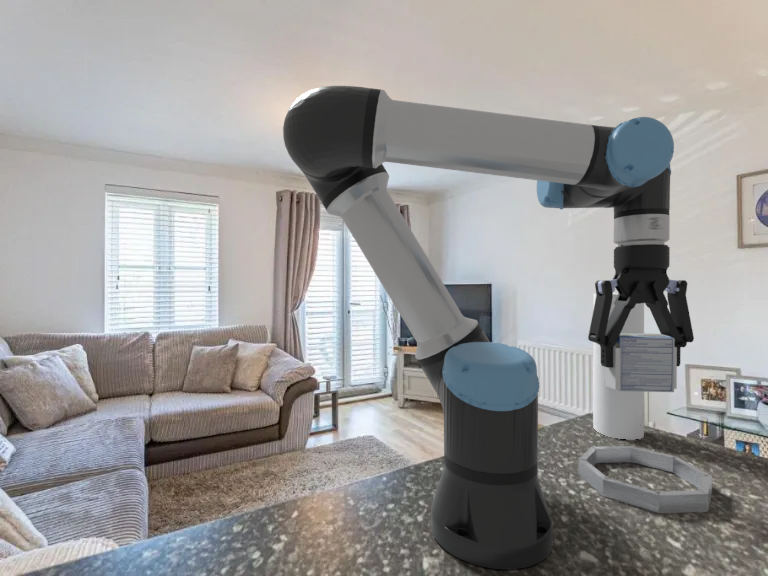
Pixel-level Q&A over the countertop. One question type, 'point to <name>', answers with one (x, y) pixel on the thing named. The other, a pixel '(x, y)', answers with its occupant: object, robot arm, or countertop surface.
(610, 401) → the cylinder container
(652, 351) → the medicine box
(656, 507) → the collar
